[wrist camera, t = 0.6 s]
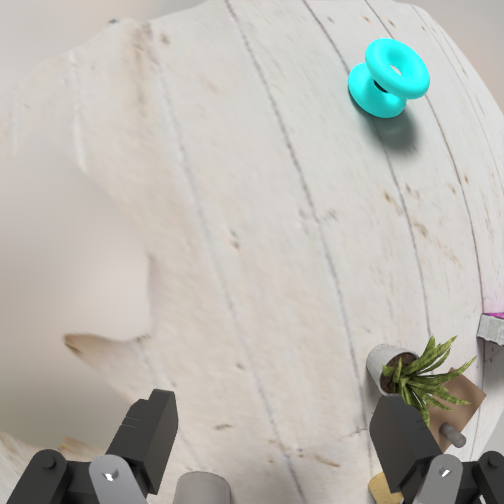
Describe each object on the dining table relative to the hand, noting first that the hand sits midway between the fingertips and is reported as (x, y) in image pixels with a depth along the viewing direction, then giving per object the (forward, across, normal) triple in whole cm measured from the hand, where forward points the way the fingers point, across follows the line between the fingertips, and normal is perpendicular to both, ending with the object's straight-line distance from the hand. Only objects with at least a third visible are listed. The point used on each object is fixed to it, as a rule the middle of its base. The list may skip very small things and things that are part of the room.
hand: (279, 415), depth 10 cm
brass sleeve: (+21, +26, -44) cm, 56 cm away
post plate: (+24, +36, -31) cm, 54 cm away
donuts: (+35, +16, +24) cm, 46 cm away
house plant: (+27, +19, -17) cm, 37 cm away
